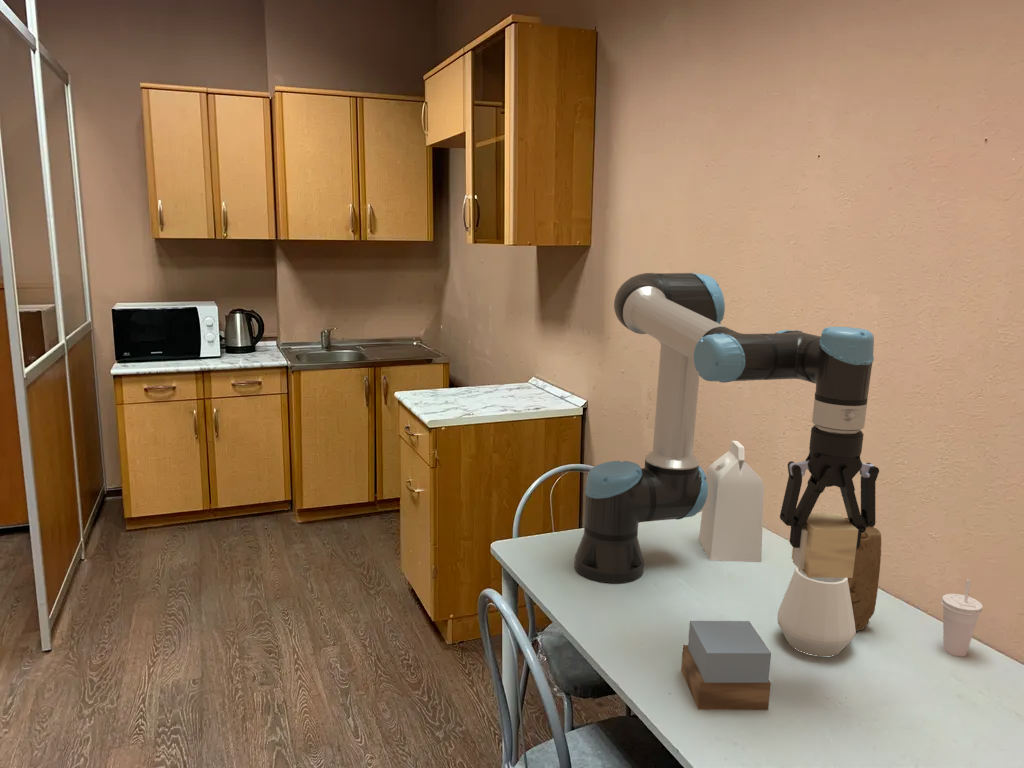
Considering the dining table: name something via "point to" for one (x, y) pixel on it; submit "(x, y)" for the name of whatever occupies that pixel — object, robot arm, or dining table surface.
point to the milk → (732, 509)
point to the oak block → (829, 546)
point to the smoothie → (959, 621)
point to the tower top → (729, 652)
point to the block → (865, 577)
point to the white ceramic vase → (817, 614)
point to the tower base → (723, 690)
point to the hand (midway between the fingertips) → (822, 566)
